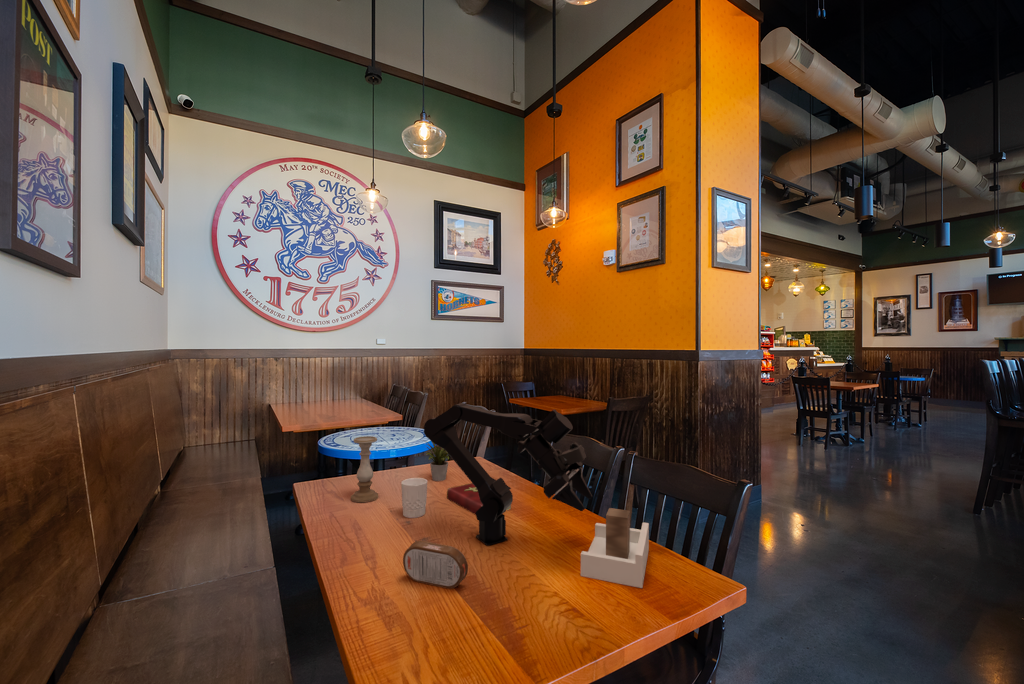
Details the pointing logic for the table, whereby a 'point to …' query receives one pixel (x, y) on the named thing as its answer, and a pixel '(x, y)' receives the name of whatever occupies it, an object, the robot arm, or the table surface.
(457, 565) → the tin
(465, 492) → the hardcover book
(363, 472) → the candle holder
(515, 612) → the table surface
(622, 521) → the walnut block
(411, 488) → the white cup
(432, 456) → the house plant
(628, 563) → the toy armchair
